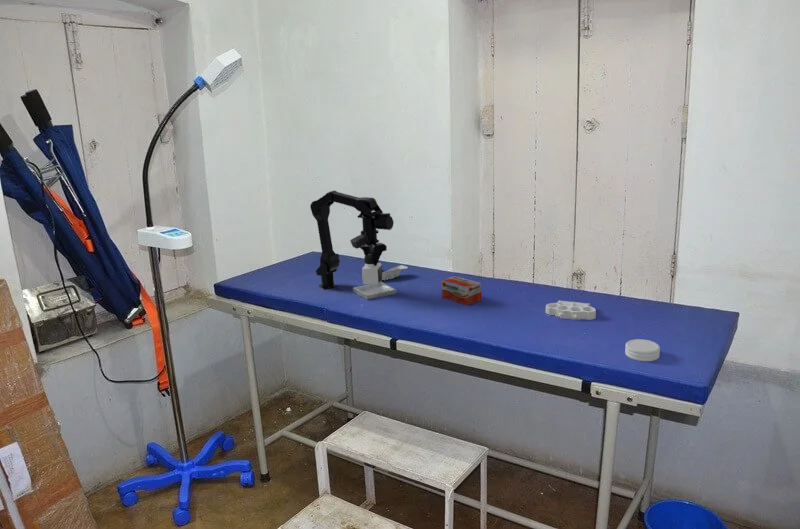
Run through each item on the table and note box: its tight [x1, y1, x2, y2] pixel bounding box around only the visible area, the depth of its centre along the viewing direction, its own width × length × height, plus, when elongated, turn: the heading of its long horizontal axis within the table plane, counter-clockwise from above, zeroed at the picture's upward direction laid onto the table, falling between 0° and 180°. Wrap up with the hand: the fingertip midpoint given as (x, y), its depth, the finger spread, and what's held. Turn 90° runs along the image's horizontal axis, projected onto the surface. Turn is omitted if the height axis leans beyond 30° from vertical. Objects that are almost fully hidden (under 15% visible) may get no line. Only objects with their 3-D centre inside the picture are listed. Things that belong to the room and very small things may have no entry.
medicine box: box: [441, 275, 482, 306], centre depth 241 cm, size 15×8×8 cm, turn 42°
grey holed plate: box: [545, 299, 597, 321], centre depth 220 cm, size 3×18×15 cm
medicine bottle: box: [361, 254, 383, 285], centre depth 253 cm, size 7×7×12 cm
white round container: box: [624, 338, 661, 362], centre depth 183 cm, size 10×10×4 cm
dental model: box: [379, 262, 408, 281], centre depth 278 cm, size 23×17×5 cm
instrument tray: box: [352, 281, 397, 301], centre depth 256 cm, size 14×14×2 cm
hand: (371, 264), depth 252 cm, fingers closed on medicine bottle, 6 cm apart
